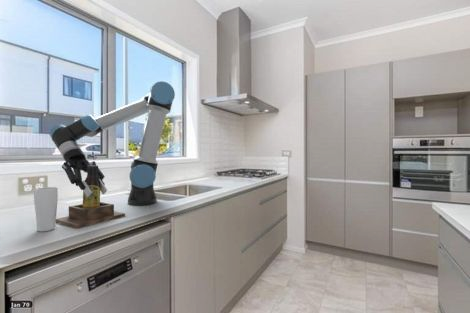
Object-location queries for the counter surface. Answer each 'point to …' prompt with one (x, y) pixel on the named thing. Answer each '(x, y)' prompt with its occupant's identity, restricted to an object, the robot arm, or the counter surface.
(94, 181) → the sauce bottle
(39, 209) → the drinking glass
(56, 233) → the counter surface
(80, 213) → the walnut bottle holder
